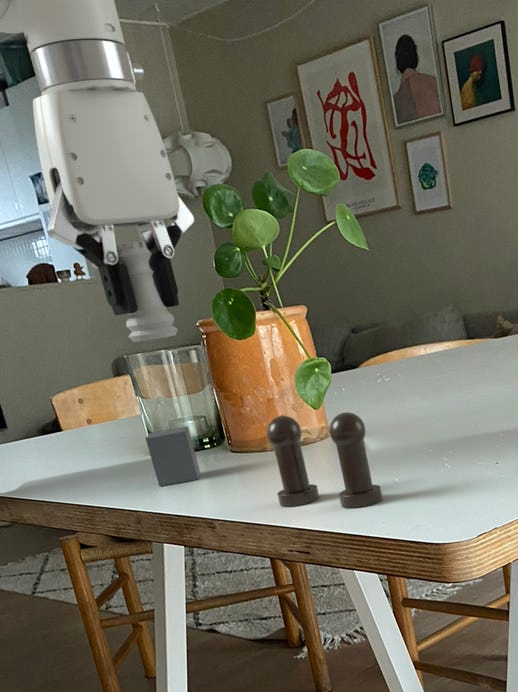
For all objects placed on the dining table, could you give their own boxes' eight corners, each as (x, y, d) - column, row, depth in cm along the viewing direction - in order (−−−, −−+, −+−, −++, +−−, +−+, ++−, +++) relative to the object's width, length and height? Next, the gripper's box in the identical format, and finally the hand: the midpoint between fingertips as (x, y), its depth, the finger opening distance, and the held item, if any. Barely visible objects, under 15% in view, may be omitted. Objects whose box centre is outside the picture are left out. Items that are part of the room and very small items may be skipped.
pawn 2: (338, 510, 74) (318, 419, 71) (345, 499, 77) (326, 412, 74) (379, 504, 74) (362, 413, 71) (385, 494, 77) (368, 406, 74)
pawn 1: (275, 508, 78) (255, 422, 75) (284, 498, 81) (265, 415, 78) (315, 503, 77) (296, 416, 75) (322, 493, 81) (304, 410, 78)
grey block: (159, 486, 96) (145, 438, 94) (162, 479, 99) (149, 433, 97) (198, 479, 96) (185, 431, 94) (200, 472, 100) (187, 426, 98)
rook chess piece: (162, 338, 82) (136, 240, 79) (119, 344, 83) (92, 248, 80) (189, 332, 86) (165, 239, 83) (147, 338, 87) (123, 246, 84)
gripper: (150, 89, 85) (202, 301, 92) (-34, 86, 74) (40, 327, 81) (195, 69, 80) (246, 294, 87) (5, 62, 69) (80, 321, 76)
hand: (146, 308), depth 84 cm, fingers closed on rook chess piece, 3 cm apart
